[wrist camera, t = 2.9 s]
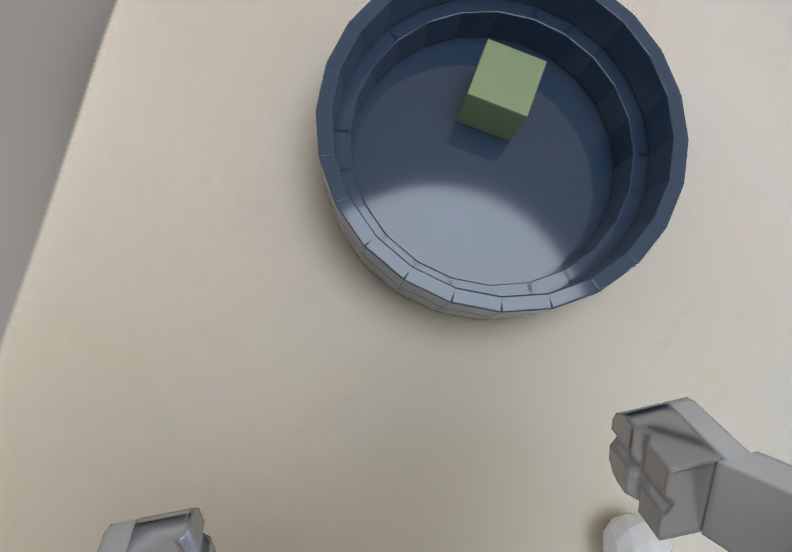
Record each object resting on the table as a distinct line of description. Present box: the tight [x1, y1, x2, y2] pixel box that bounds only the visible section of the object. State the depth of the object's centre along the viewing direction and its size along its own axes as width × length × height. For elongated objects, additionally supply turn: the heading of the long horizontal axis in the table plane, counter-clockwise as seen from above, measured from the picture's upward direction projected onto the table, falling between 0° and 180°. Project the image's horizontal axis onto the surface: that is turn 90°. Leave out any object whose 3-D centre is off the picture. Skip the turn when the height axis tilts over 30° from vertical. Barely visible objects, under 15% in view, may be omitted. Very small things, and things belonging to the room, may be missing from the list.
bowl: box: [316, 0, 688, 320], centre depth 26 cm, size 16×16×5 cm
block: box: [456, 39, 547, 141], centre depth 27 cm, size 3×3×3 cm
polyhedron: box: [603, 513, 672, 552], centre depth 25 cm, size 3×3×3 cm
